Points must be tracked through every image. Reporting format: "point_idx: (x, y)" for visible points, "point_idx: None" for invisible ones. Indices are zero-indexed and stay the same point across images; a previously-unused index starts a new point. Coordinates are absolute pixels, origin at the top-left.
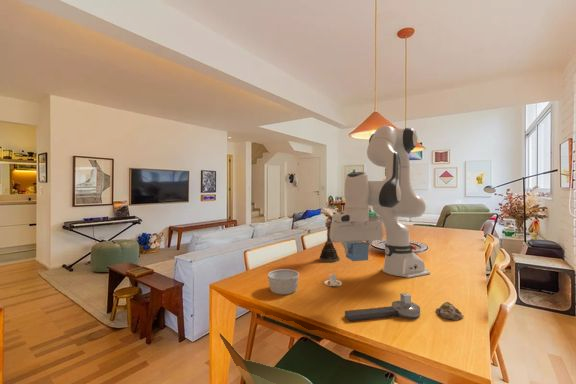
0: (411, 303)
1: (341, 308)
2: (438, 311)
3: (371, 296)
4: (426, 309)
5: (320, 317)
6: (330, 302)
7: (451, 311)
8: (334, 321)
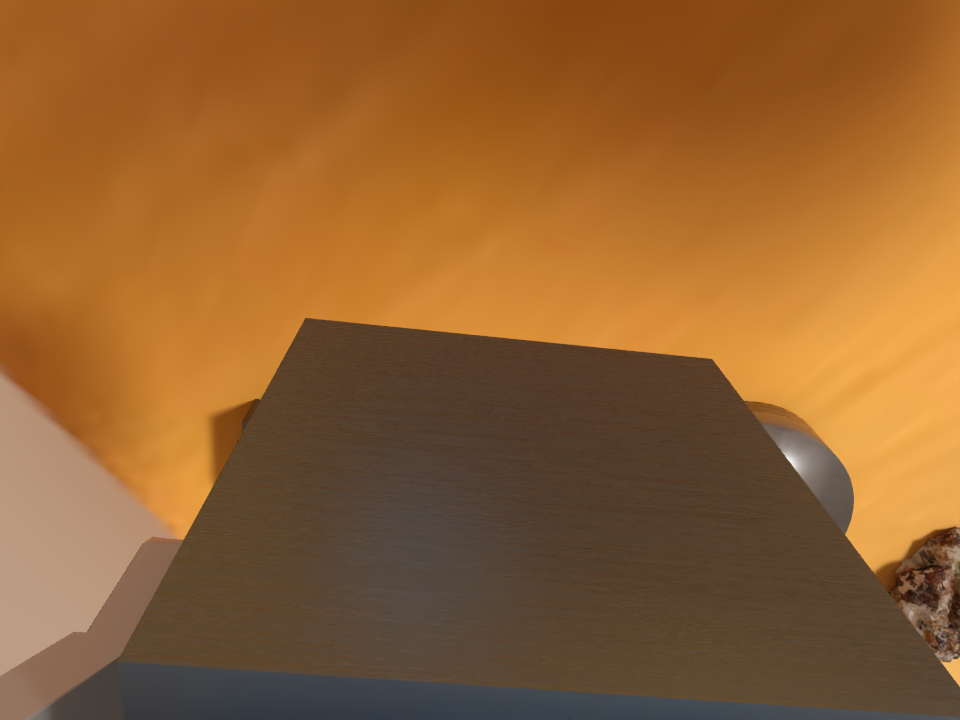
0: (829, 502)
1: (287, 269)
2: (911, 587)
3: (728, 126)
4: (914, 491)
5: (51, 353)
6: (230, 110)
7: (947, 655)
8: (147, 436)
